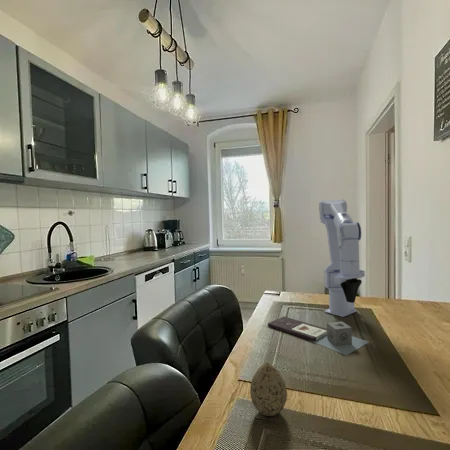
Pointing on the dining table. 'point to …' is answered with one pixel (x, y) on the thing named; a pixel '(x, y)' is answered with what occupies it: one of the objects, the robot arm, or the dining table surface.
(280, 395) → the decorative egg
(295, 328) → the chocolate bar
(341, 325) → the light grey cube
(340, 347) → the mat
